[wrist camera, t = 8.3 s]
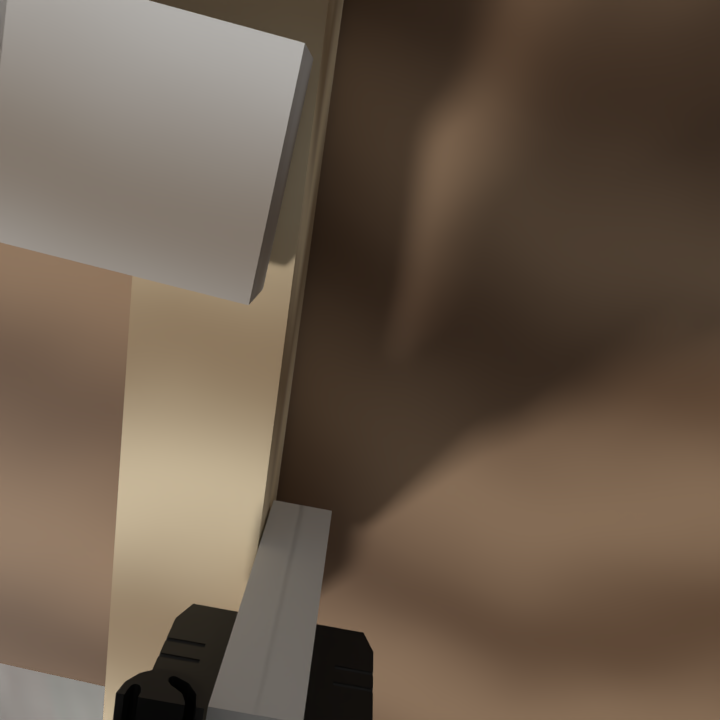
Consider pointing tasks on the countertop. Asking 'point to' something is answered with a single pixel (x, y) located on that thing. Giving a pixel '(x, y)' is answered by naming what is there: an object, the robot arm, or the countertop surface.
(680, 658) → the base
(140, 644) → the light wooden beam
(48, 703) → the countertop surface
